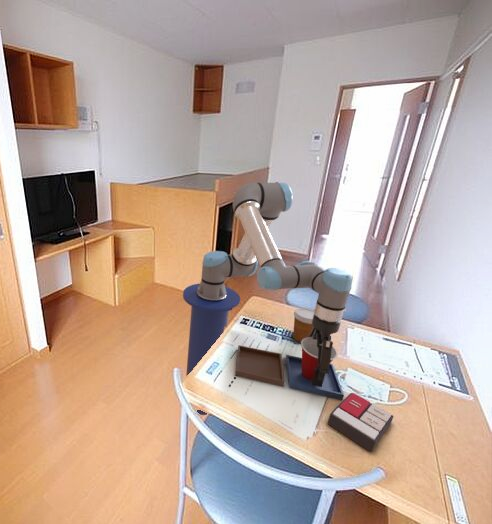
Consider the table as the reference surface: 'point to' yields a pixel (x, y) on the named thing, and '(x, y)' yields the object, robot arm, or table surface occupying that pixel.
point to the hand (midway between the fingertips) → (312, 371)
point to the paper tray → (260, 365)
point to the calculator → (360, 420)
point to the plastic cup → (312, 357)
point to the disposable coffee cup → (302, 323)
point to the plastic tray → (299, 382)
